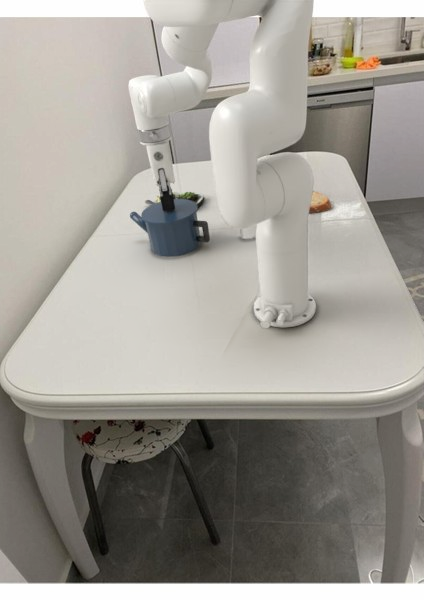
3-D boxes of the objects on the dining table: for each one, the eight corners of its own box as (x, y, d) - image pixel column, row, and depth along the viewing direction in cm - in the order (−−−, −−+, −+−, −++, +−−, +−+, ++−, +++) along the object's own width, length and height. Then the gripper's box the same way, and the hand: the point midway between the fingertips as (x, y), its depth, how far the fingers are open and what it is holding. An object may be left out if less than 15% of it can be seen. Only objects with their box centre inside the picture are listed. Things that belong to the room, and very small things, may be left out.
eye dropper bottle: (260, 240, 116) (257, 198, 109) (239, 241, 118) (235, 198, 111) (262, 233, 120) (259, 191, 113) (242, 233, 121) (238, 192, 114)
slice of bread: (333, 210, 125) (334, 198, 123) (270, 217, 127) (270, 205, 125) (321, 188, 140) (321, 177, 138) (265, 195, 142) (264, 183, 140)
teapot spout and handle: (208, 244, 114) (204, 217, 110) (133, 238, 123) (127, 213, 119) (211, 240, 116) (208, 213, 111) (137, 234, 124) (131, 210, 120)
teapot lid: (183, 228, 106) (178, 200, 102) (131, 225, 112) (125, 198, 108) (206, 204, 117) (202, 177, 113) (158, 202, 123) (153, 177, 119)
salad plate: (132, 216, 141) (129, 202, 139) (161, 194, 154) (158, 182, 151) (184, 221, 133) (181, 206, 130) (210, 198, 146) (208, 184, 143)
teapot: (188, 260, 112) (182, 225, 107) (142, 256, 118) (134, 222, 112) (208, 236, 122) (203, 202, 117) (165, 233, 128) (159, 201, 122)
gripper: (172, 140, 97) (185, 217, 107) (168, 124, 110) (180, 193, 120) (138, 146, 96) (155, 222, 107) (139, 129, 110) (153, 198, 120)
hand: (168, 206), depth 113 cm, fingers closed on teapot lid, 3 cm apart
